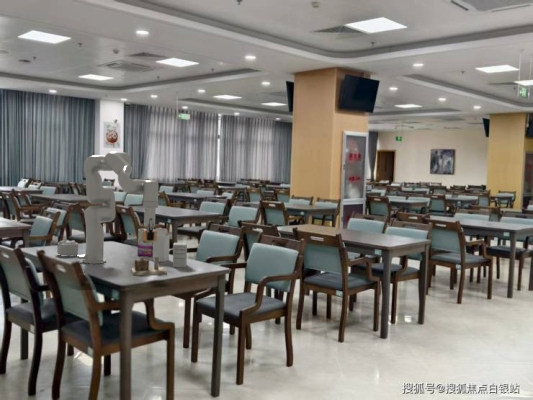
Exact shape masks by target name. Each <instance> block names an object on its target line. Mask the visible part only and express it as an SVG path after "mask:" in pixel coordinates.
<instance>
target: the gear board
mask: <svg viewBox="0 0 533 400" xmlns="http://www.w3.org/2000/svg"><path fill="white" fill-rule="evenodd" d="M153 262H154V263H153V265H154V266H153V267H149V266H150V260H149V259H146V258H145V256H140V257H139V258H137V259H134V267H131V270H130V271H131V273H132V275H133V276H137V275H138V276H141V275H142V276H143V275H167V274H168V271H167V269H166V268H165V267H164V266H159V262H160V261H159V257H154V261H153Z"/></svg>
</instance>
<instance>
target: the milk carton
mask: <svg viewBox="0 0 533 400" xmlns="http://www.w3.org/2000/svg"><path fill="white" fill-rule="evenodd" d="M155 230H156V231H157V241H153V257H152V262H154V257H159V262H161V263H164V262H168V261H169V260H170V233H169V231H168V228H164V227H163V228H162V227H155Z"/></svg>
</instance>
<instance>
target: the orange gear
mask: <svg viewBox="0 0 533 400" xmlns="http://www.w3.org/2000/svg"><path fill="white" fill-rule="evenodd" d="M155 230H156V229H155ZM155 230H153V232H154V240H147V232H148V230H144V231H143V239H142V240H143V241H157V231H155Z"/></svg>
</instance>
